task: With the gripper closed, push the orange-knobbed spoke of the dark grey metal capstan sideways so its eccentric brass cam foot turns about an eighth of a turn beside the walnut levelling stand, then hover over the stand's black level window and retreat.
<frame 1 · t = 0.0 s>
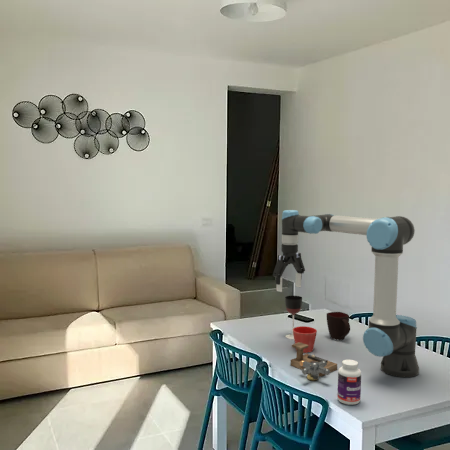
hand: (288, 289, 235), 28 cm above the table, fingers open, 13 cm apart
capstan: (314, 370, 201), point 4 cm above the table, hinge at 0.0°
flower pot: (304, 350, 235), on the table
pill bottle: (348, 401, 183), on the table
cup: (339, 339, 251), on the table
level stand: (313, 367, 214), on the table
wineglass: (292, 337, 254), on the table
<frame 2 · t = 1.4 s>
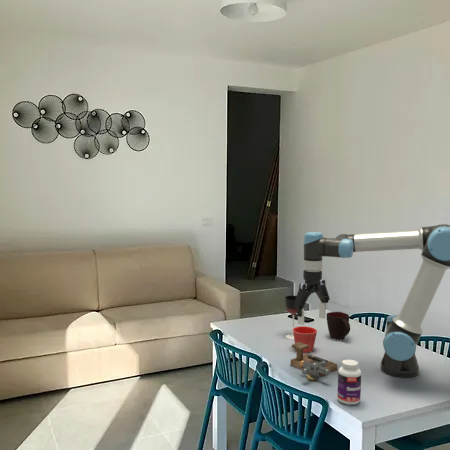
hand: (311, 320, 209), 21 cm above the table, fingers open, 13 cm apart
nothing on the table moved.
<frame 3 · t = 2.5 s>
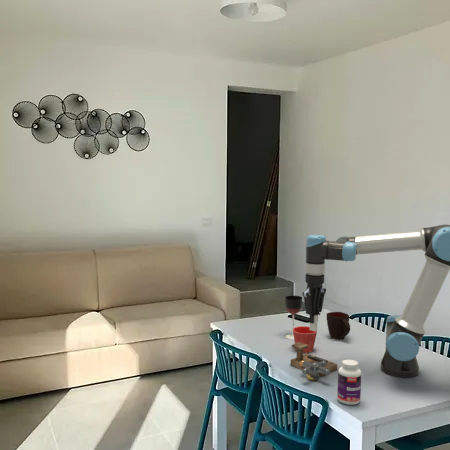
hand: (313, 330, 207), 18 cm above the table, fingers closed
nothing on the table moved.
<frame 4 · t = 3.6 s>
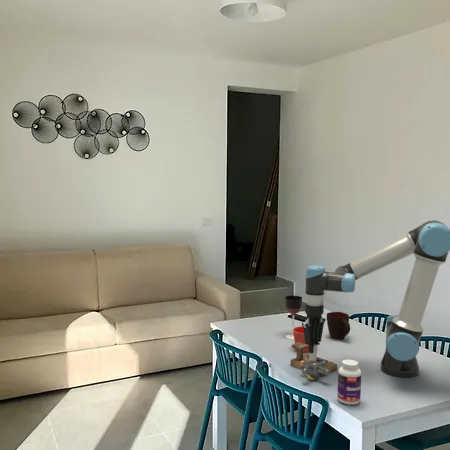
hand: (312, 359, 208), 5 cm above the table, fingers closed
nothing on the table moved.
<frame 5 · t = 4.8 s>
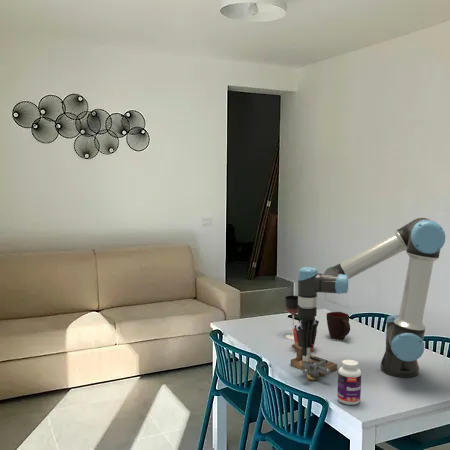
hand: (306, 362, 206), 5 cm above the table, fingers closed
capstan: (314, 370, 201), point 4 cm above the table, hinge at 3.2°, touching gripper
everything else where it was.
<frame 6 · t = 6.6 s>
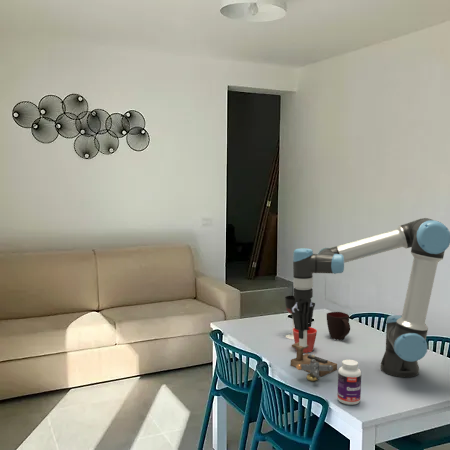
hand: (303, 345, 202), 13 cm above the table, fingers closed
capstan: (314, 370, 201), point 4 cm above the table, hinge at 42.5°
everything else where it was.
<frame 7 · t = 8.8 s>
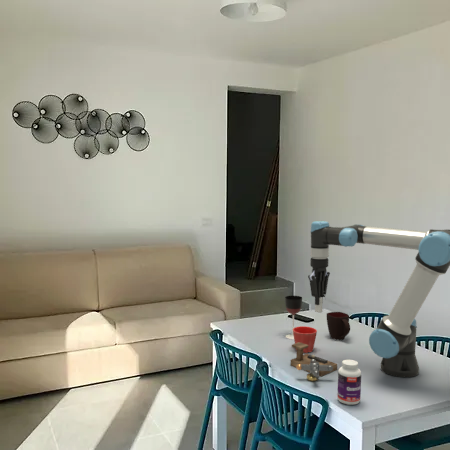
hand: (318, 311, 218), 22 cm above the table, fingers closed
nothing on the table moved.
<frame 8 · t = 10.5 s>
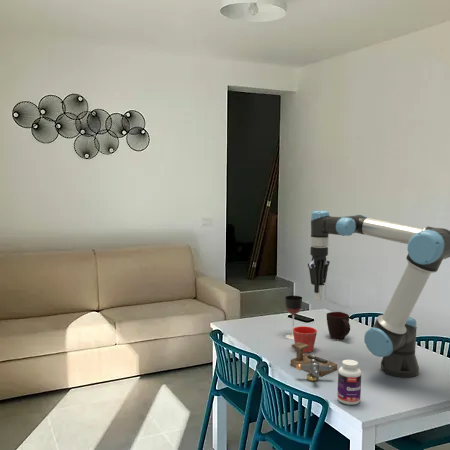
hand: (318, 299, 222), 26 cm above the table, fingers closed
nothing on the table moved.
at the end: capstan at +43° (first picture: +0°) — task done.
